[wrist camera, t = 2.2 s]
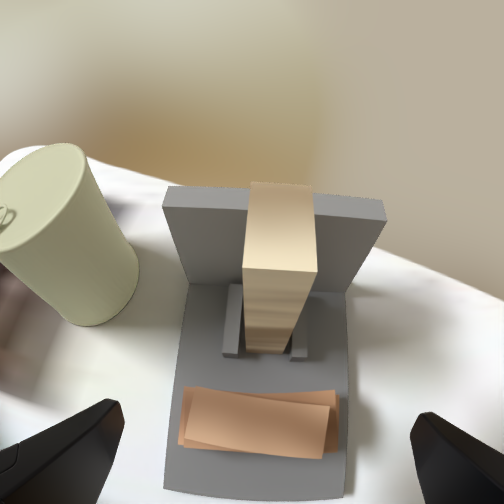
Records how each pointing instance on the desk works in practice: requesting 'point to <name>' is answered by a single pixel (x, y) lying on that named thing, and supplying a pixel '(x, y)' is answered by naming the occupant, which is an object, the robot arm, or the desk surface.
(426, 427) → the robot arm
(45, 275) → the can
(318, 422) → the offcut stack
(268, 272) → the birch strip
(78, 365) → the desk surface
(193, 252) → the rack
